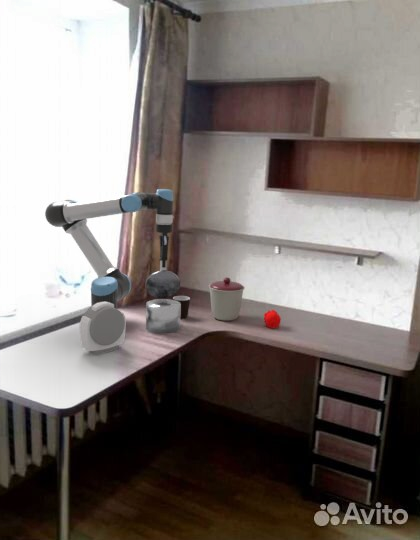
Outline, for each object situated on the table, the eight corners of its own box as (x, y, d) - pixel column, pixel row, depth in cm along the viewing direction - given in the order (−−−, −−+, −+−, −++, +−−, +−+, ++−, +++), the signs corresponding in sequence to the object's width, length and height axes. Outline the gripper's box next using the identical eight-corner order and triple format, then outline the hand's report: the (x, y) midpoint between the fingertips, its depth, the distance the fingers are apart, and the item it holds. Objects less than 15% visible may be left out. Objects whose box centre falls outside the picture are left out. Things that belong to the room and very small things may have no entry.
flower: (263, 319, 240) (261, 313, 247) (269, 333, 241) (266, 327, 249) (278, 313, 239) (276, 307, 247) (284, 327, 241) (281, 321, 249)
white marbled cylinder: (147, 334, 228) (147, 308, 225) (144, 322, 245) (145, 298, 242) (182, 333, 231) (182, 308, 228) (177, 321, 248) (178, 297, 245)
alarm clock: (116, 342, 216) (116, 297, 212) (127, 348, 210) (127, 301, 206) (78, 352, 204) (77, 304, 200) (89, 358, 198) (88, 309, 194)
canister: (208, 311, 266) (209, 272, 261) (242, 313, 265) (244, 274, 261) (206, 322, 248) (208, 280, 244) (243, 324, 248) (245, 282, 243)
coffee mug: (189, 320, 251) (189, 300, 248) (171, 319, 251) (172, 300, 249) (190, 313, 262) (191, 294, 260) (173, 312, 262) (174, 294, 260)
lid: (146, 272, 231) (146, 268, 233) (145, 298, 241) (144, 293, 243) (181, 272, 234) (180, 268, 236) (178, 297, 244) (177, 293, 246)
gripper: (174, 225, 225) (173, 276, 230) (170, 221, 238) (169, 270, 243) (157, 225, 224) (156, 277, 229) (154, 221, 236) (153, 270, 241)
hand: (163, 273), depth 236 cm, fingers closed
